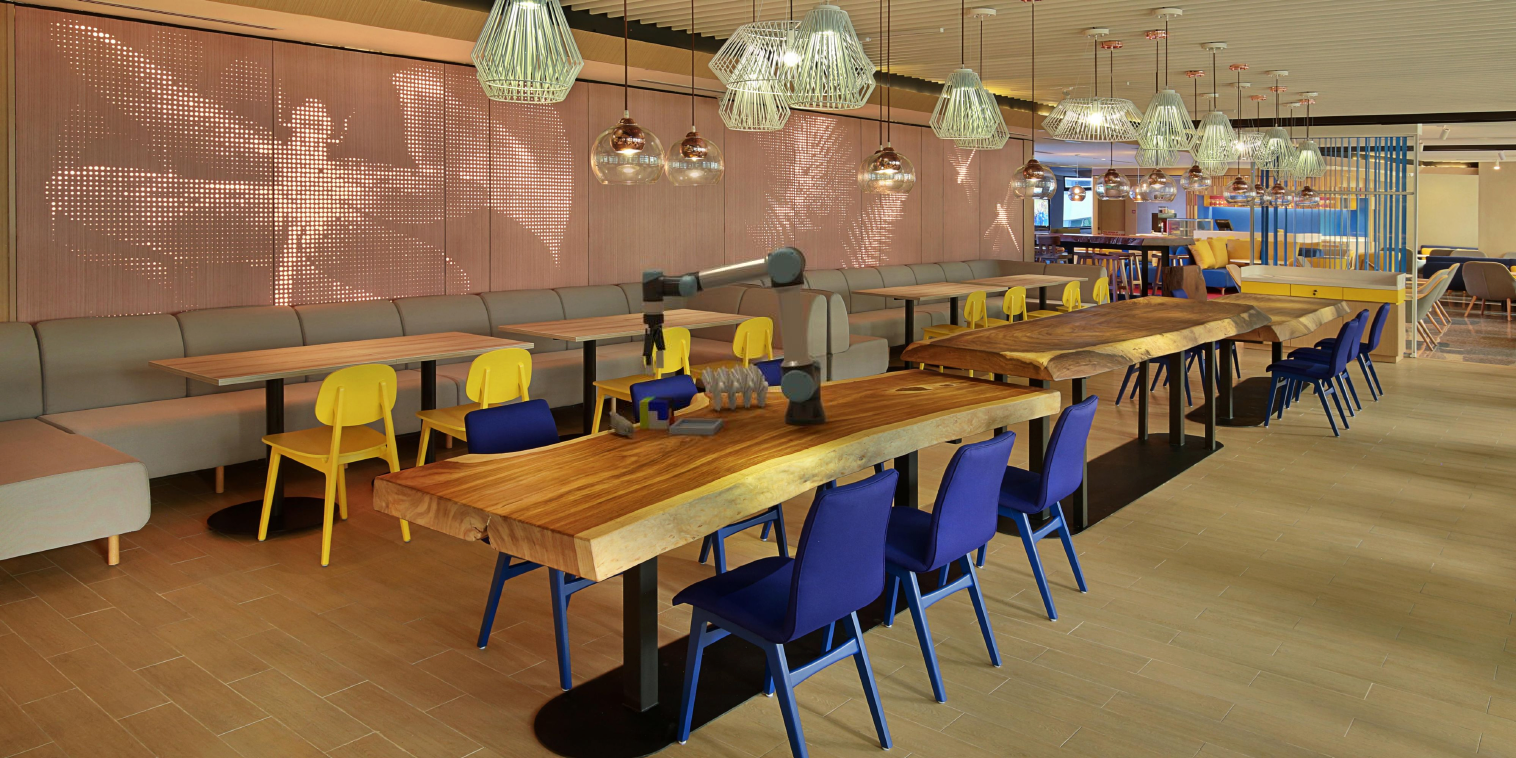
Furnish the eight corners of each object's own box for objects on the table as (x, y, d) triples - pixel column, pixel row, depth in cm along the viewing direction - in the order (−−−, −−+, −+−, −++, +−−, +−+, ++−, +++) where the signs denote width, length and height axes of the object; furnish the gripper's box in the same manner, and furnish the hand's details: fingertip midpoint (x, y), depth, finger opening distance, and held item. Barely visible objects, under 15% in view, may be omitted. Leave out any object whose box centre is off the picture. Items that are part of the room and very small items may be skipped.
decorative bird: (624, 440, 356) (623, 419, 355) (605, 432, 370) (604, 412, 368) (638, 438, 359) (637, 417, 358) (619, 430, 372) (618, 410, 371)
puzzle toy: (666, 429, 372) (665, 402, 371) (640, 428, 374) (639, 401, 373) (674, 423, 382) (673, 397, 380) (648, 423, 384) (647, 396, 382)
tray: (723, 425, 377) (722, 419, 376) (713, 435, 361) (713, 428, 361) (680, 424, 380) (680, 418, 379) (669, 434, 364) (668, 427, 364)
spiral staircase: (769, 417, 409) (710, 420, 400) (755, 392, 422) (697, 394, 413) (778, 379, 399) (717, 381, 390) (764, 355, 413) (704, 356, 404)
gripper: (653, 309, 384) (654, 365, 388) (633, 316, 360) (634, 376, 363) (672, 309, 383) (673, 366, 386) (653, 316, 359) (655, 376, 362)
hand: (654, 371), depth 375 cm, fingers open, 13 cm apart
